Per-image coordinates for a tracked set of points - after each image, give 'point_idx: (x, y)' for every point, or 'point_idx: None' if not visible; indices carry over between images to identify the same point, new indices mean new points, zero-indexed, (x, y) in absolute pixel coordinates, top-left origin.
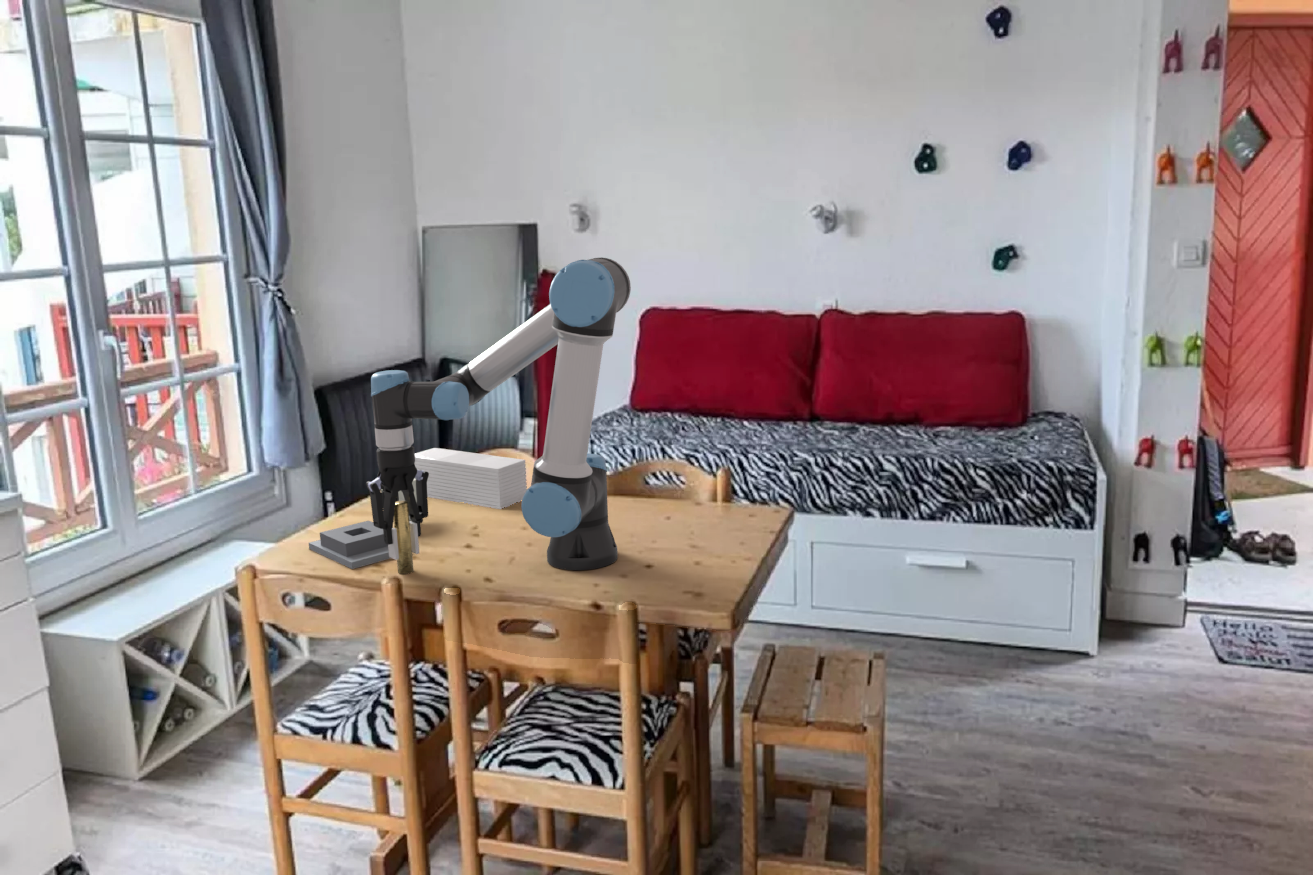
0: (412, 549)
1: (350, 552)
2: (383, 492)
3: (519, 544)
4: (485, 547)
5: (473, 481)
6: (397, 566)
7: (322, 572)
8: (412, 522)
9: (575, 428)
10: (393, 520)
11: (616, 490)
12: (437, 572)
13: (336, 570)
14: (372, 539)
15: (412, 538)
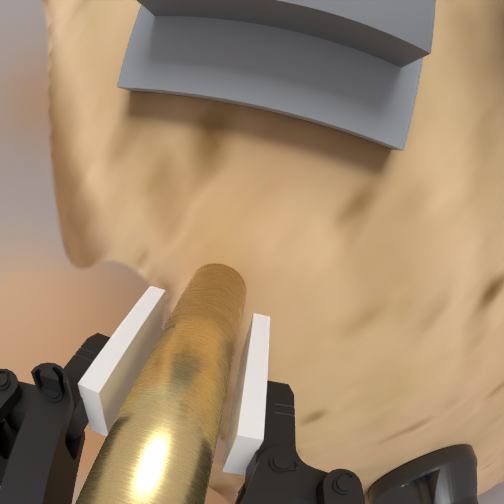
0: (245, 344)
1: (167, 9)
2: None
3: (500, 375)
4: (486, 335)
5: None
6: (188, 284)
7: (72, 45)
8: (247, 456)
9: None
10: (102, 445)
11: None
12: None
13: (100, 59)
14: (287, 8)
15: (237, 390)
